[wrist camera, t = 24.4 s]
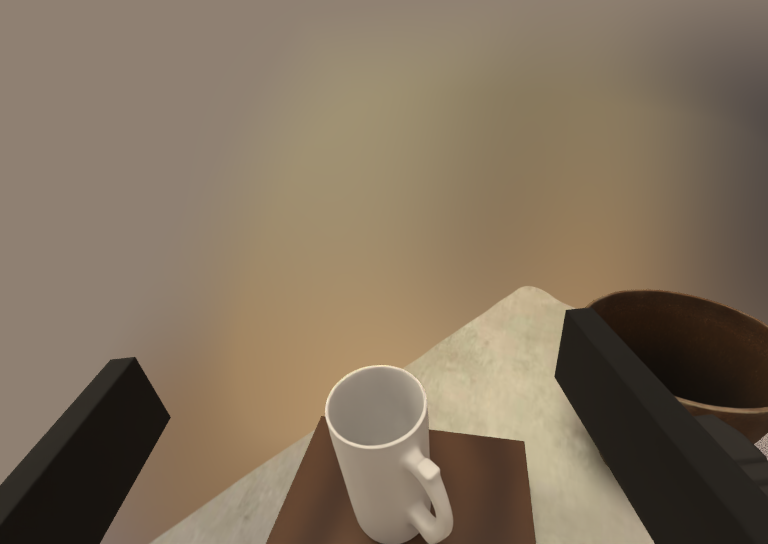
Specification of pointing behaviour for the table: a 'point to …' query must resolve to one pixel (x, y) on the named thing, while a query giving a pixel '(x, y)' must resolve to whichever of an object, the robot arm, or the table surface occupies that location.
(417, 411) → the mug
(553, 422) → the table surface
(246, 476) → the table surface
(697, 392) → the flower pot
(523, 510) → the walnut shelf
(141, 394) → the robot arm
